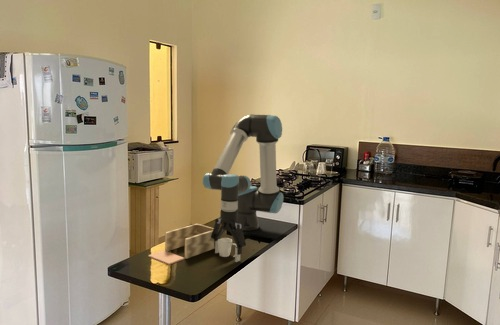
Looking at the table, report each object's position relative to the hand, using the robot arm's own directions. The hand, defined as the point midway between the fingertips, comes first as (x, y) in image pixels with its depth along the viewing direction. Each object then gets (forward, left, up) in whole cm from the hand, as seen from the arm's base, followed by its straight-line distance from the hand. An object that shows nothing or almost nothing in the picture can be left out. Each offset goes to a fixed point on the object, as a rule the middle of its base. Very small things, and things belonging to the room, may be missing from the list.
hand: (227, 257), depth 172 cm
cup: (0, 0, 0) cm, 0 cm away
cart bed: (+5, -18, 0) cm, 18 cm away
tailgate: (+16, -18, +1) cm, 24 cm away
